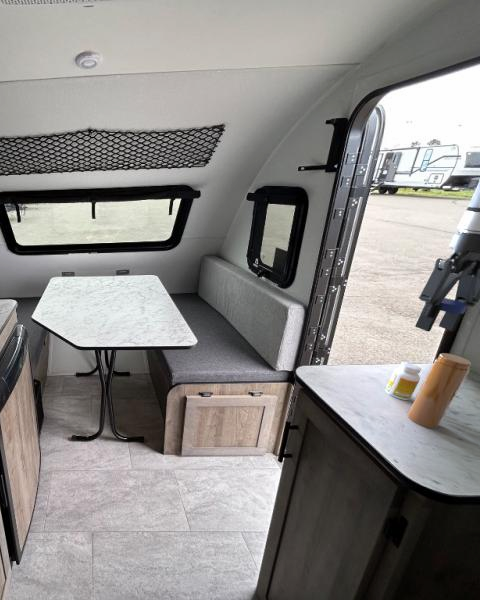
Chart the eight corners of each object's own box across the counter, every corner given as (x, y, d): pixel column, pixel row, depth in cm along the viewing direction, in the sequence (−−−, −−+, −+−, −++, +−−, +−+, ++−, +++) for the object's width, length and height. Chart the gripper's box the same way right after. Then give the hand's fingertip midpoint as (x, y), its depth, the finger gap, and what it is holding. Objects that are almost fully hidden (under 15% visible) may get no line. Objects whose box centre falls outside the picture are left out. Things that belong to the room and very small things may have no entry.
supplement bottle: (415, 400, 91) (430, 370, 88) (399, 401, 91) (414, 371, 87) (395, 388, 96) (408, 360, 93) (380, 389, 95) (393, 361, 92)
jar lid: (418, 302, 80) (421, 295, 79) (447, 304, 79) (450, 298, 78) (441, 312, 74) (444, 304, 73) (472, 315, 73) (476, 307, 73)
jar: (433, 419, 84) (467, 357, 77) (440, 431, 80) (477, 367, 73) (404, 410, 87) (435, 350, 80) (409, 422, 82) (442, 359, 76)
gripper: (466, 234, 65) (417, 336, 74) (541, 237, 68) (486, 335, 76) (425, 228, 72) (384, 322, 81) (494, 231, 75) (448, 321, 83)
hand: (434, 328), depth 78 cm, fingers closed on jar lid, 6 cm apart
